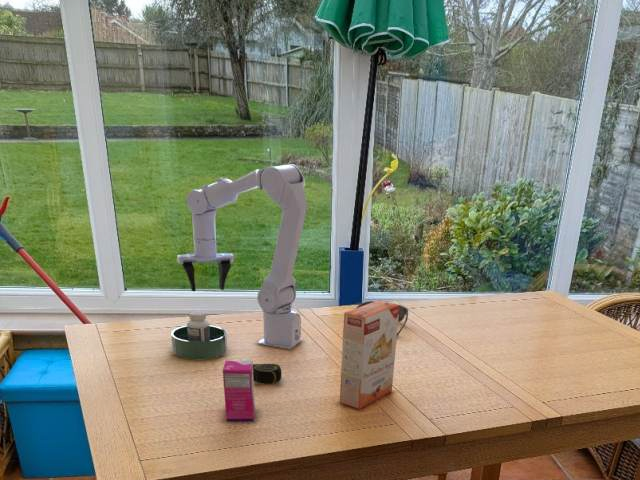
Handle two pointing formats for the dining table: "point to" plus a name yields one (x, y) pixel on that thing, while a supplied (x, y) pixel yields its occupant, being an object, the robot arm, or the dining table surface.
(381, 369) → the cracker box
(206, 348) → the bowl
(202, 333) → the pill bottle
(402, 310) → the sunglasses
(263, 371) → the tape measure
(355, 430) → the dining table surface
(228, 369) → the supplement box
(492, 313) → the dining table surface
